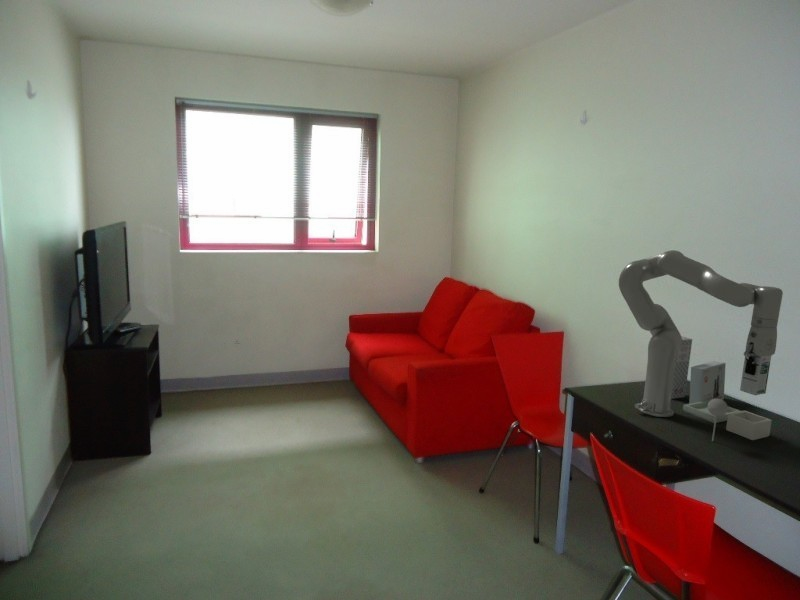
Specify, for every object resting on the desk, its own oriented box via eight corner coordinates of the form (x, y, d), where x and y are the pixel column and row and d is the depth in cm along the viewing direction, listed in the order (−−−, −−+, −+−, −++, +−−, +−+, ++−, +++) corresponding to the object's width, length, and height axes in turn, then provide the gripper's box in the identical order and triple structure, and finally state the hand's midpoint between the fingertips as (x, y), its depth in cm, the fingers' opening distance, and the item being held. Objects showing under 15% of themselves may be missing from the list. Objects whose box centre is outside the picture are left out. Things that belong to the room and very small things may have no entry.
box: (670, 399, 228) (677, 340, 224) (653, 392, 235) (660, 335, 231) (684, 396, 231) (692, 339, 227) (667, 390, 239) (674, 334, 235)
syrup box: (756, 395, 189) (763, 355, 186) (738, 390, 194) (745, 350, 191) (765, 394, 191) (772, 353, 189) (748, 388, 197) (755, 349, 194)
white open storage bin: (752, 440, 189) (755, 423, 188) (725, 429, 197) (728, 413, 196) (769, 436, 193) (771, 419, 192) (742, 426, 201) (744, 410, 200)
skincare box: (702, 408, 218) (703, 368, 217) (688, 405, 222) (688, 366, 221) (725, 399, 231) (726, 362, 230) (711, 397, 235) (712, 360, 234)
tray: (713, 423, 203) (714, 416, 203) (682, 410, 214) (683, 404, 214) (741, 417, 210) (742, 411, 210) (709, 405, 221) (710, 399, 221)
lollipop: (722, 446, 183) (728, 403, 180) (702, 441, 186) (708, 399, 183) (722, 440, 188) (729, 398, 185) (703, 435, 191) (709, 394, 188)
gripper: (760, 326, 181) (751, 379, 184) (790, 323, 189) (781, 374, 192) (737, 321, 188) (729, 372, 191) (768, 319, 195) (759, 368, 199)
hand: (755, 372), depth 191 cm, fingers closed on syrup box, 5 cm apart
